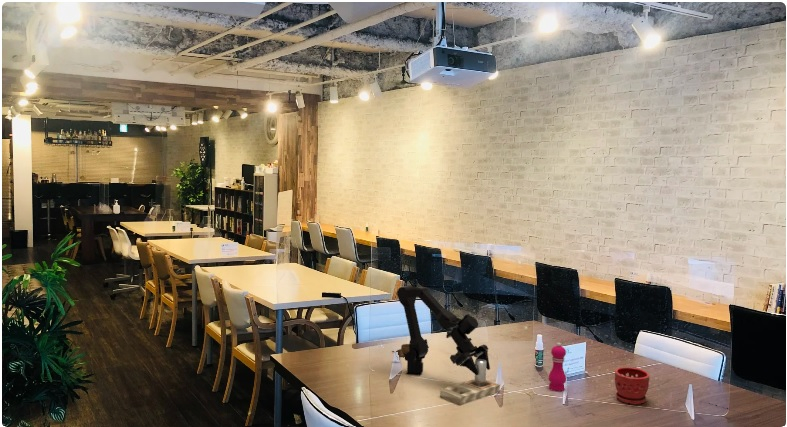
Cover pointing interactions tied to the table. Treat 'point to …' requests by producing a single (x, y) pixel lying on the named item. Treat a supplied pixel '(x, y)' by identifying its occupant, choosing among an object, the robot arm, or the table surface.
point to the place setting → (403, 350)
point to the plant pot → (631, 385)
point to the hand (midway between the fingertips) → (483, 372)
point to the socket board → (468, 392)
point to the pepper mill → (557, 368)
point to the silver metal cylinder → (480, 373)
